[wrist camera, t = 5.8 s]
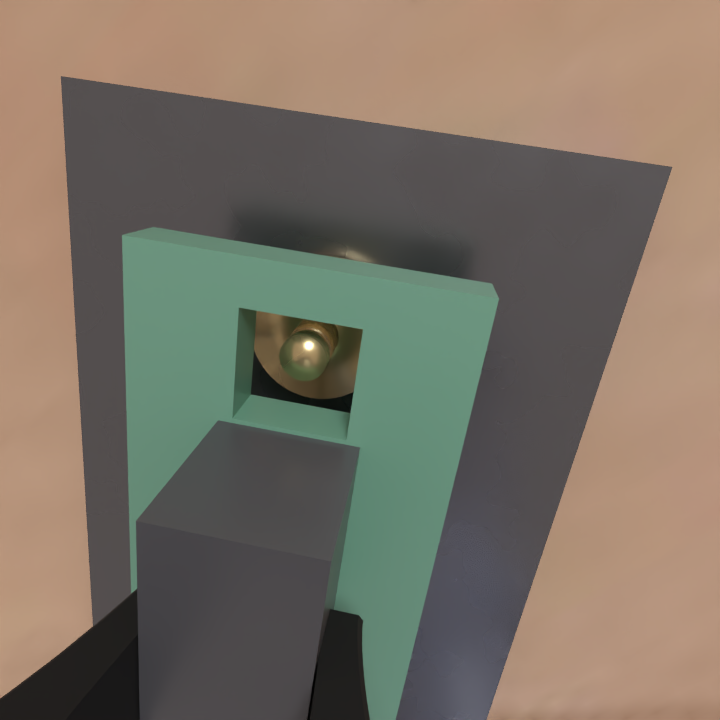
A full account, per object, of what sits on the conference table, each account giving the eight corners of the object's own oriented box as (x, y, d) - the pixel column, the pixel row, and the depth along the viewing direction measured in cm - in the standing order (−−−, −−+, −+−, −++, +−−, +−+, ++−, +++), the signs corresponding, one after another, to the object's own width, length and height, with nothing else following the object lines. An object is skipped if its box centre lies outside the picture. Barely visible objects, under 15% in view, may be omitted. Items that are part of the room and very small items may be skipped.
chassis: (468, 708, 21) (478, 867, 16) (124, 632, 22) (40, 761, 17) (639, 165, 13) (748, 170, 9) (109, 86, 14) (-47, 52, 10)
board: (376, 766, 16) (357, 980, 12) (155, 715, 17) (61, 902, 12) (492, 283, 11) (529, 367, 6) (153, 226, 11) (-18, 270, 7)
